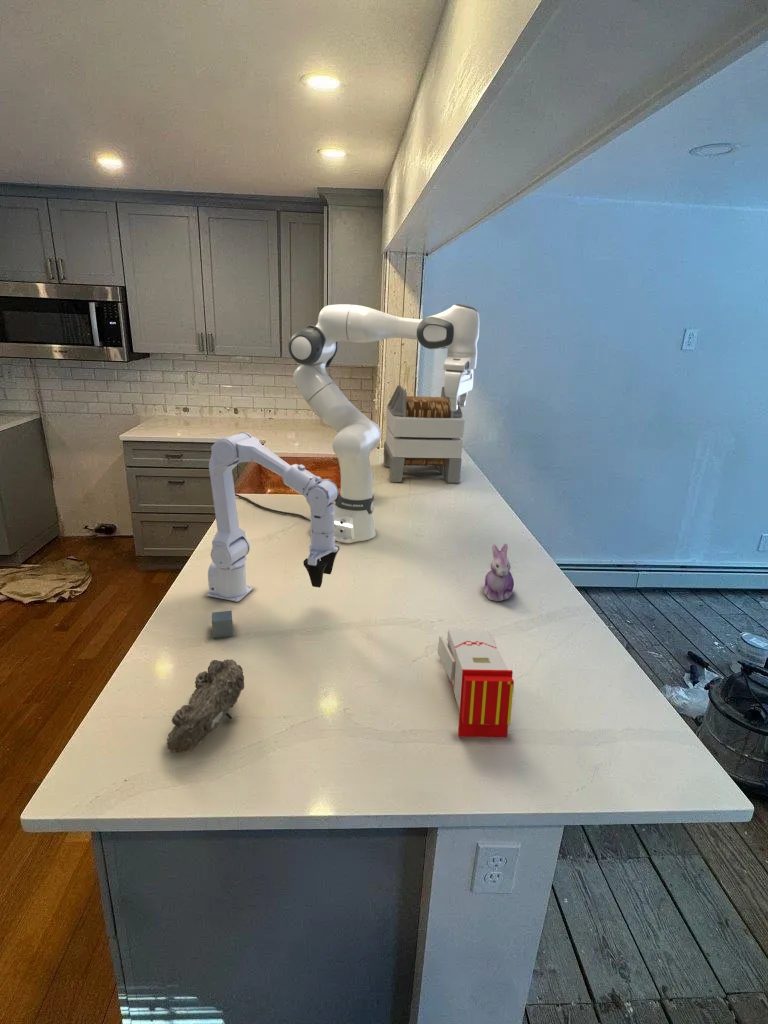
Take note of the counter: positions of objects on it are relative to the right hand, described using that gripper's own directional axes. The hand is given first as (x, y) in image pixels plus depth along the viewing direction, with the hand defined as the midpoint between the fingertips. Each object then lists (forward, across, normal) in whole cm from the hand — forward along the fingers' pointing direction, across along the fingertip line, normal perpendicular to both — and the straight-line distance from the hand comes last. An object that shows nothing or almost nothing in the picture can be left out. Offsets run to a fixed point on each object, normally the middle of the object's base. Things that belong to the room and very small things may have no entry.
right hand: (458, 408), depth 174 cm
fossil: (+46, +100, -18) cm, 112 cm away
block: (+46, +75, -34) cm, 94 cm away
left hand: (+37, +56, -17) cm, 69 cm away
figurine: (+47, +25, +22) cm, 58 cm away
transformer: (+46, -83, -38) cm, 102 cm away
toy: (+47, +71, +25) cm, 89 cm away
